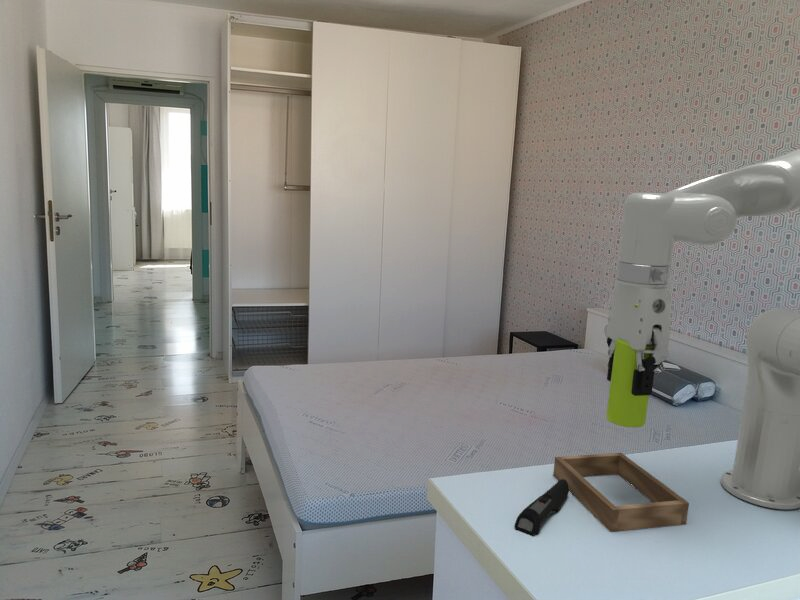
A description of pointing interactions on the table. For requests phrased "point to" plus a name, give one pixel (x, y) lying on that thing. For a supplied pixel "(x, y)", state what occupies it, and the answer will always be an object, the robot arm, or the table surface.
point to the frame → (626, 517)
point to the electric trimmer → (542, 508)
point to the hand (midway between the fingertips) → (628, 386)
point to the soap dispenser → (625, 389)
